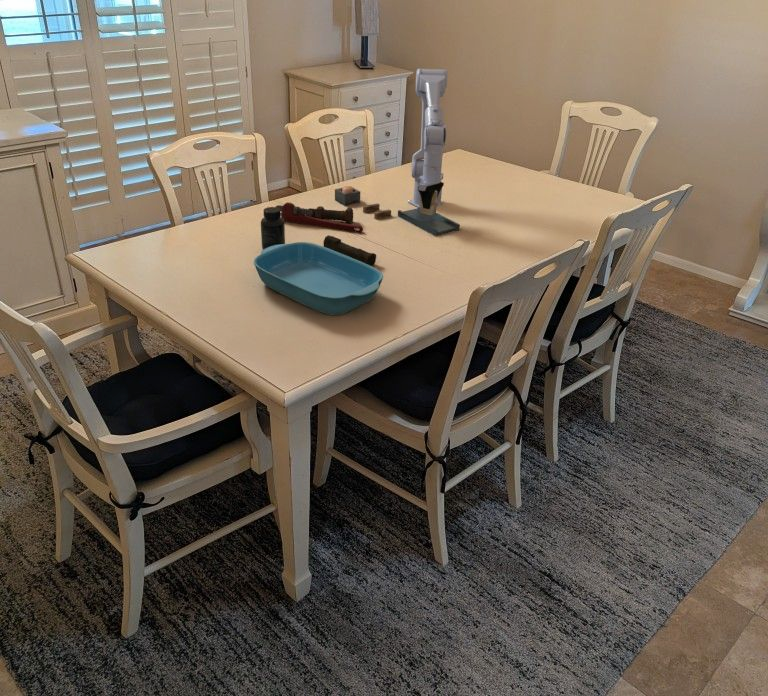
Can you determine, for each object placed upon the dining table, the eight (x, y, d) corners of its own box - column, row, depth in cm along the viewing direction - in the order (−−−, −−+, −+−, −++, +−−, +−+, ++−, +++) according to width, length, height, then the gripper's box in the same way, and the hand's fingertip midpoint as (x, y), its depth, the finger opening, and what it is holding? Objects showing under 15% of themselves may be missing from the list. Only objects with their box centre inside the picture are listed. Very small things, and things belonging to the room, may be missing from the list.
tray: (421, 210, 234) (421, 205, 233) (459, 230, 221) (460, 224, 220) (397, 216, 229) (397, 210, 228) (435, 236, 216) (436, 230, 215)
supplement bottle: (270, 242, 206) (268, 203, 200) (289, 246, 204) (288, 208, 198) (257, 250, 201) (255, 211, 195) (276, 255, 199) (275, 215, 192)
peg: (425, 209, 225) (426, 188, 222) (436, 211, 224) (437, 190, 220) (419, 213, 222) (421, 192, 219) (431, 215, 221) (432, 194, 217)
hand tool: (377, 265, 196) (377, 250, 194) (367, 269, 194) (368, 254, 191) (330, 246, 207) (330, 231, 204) (320, 249, 204) (320, 235, 201)
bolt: (308, 223, 226) (352, 226, 223) (303, 220, 221) (348, 224, 218) (310, 205, 226) (354, 209, 223) (305, 202, 221) (350, 206, 218)
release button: (348, 196, 241) (349, 185, 239) (354, 199, 238) (354, 188, 236) (340, 198, 239) (340, 187, 237) (345, 201, 237) (346, 190, 234)
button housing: (350, 197, 243) (350, 186, 241) (360, 202, 239) (360, 191, 237) (334, 200, 240) (334, 189, 238) (344, 205, 235) (344, 194, 233)
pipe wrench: (361, 236, 215) (272, 221, 221) (363, 233, 217) (275, 218, 223) (362, 216, 212) (272, 201, 218) (364, 213, 214) (275, 199, 220)
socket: (377, 208, 234) (377, 203, 233) (390, 216, 229) (391, 210, 228) (362, 211, 231) (363, 206, 230) (376, 219, 226) (376, 213, 225)
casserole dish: (398, 299, 179) (400, 274, 175) (341, 330, 164) (341, 304, 160) (298, 258, 198) (298, 234, 194) (239, 282, 183) (237, 258, 179)
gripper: (430, 157, 222) (427, 197, 229) (411, 168, 211) (408, 210, 218) (450, 161, 219) (446, 201, 226) (431, 172, 208) (428, 214, 215)
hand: (429, 206), depth 222 cm, fingers closed on peg, 4 cm apart
